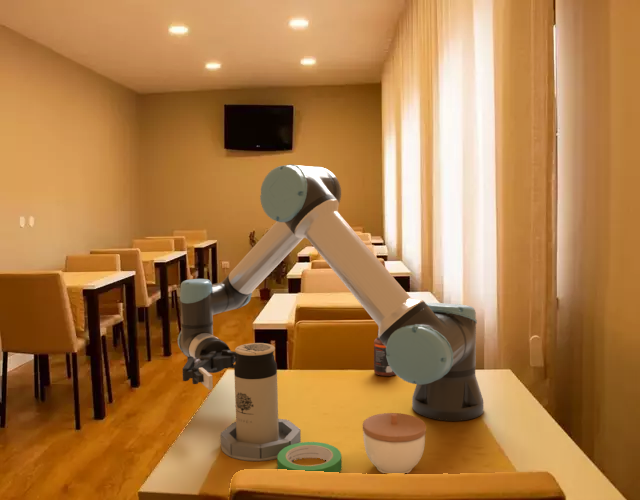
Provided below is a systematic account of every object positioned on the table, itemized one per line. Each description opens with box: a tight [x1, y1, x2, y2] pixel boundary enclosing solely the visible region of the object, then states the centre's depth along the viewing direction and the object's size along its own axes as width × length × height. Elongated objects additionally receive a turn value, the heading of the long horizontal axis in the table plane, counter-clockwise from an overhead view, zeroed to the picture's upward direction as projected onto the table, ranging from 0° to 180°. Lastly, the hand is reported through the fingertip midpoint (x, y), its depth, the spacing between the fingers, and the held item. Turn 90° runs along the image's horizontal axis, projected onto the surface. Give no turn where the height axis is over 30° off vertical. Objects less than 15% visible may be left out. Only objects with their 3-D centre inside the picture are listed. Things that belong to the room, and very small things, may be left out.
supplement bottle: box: [373, 329, 396, 377], centre depth 159 cm, size 6×6×11 cm
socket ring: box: [220, 418, 302, 462], centre depth 116 cm, size 15×15×2 cm
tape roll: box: [276, 441, 343, 473], centre depth 106 cm, size 11×11×3 cm
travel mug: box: [233, 342, 279, 444], centre depth 115 cm, size 8×8×18 cm
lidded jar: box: [362, 412, 427, 474], centre depth 105 cm, size 11×11×9 cm
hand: (243, 377), depth 122 cm, fingers open, 13 cm apart
